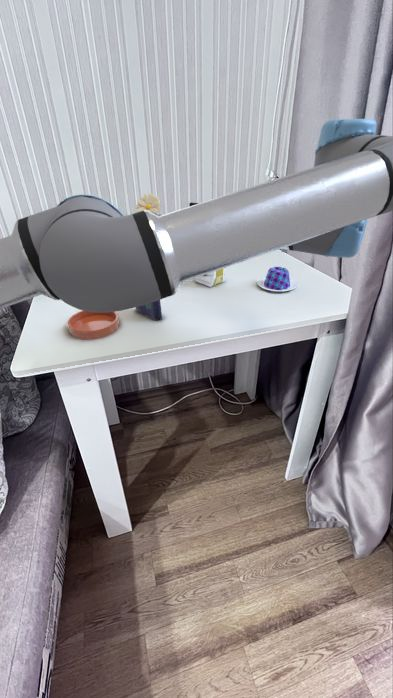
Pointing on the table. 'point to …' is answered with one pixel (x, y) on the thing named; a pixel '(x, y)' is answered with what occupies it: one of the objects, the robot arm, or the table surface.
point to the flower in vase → (148, 204)
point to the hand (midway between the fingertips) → (173, 215)
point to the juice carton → (211, 278)
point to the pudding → (277, 280)
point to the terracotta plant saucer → (93, 324)
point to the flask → (151, 310)
